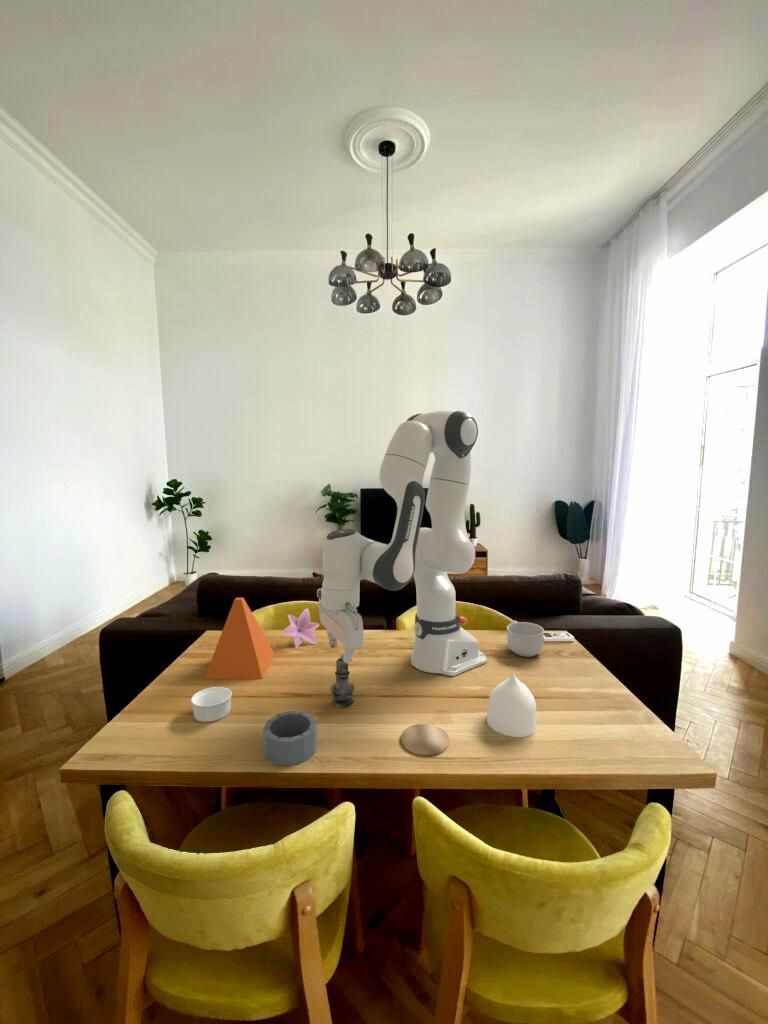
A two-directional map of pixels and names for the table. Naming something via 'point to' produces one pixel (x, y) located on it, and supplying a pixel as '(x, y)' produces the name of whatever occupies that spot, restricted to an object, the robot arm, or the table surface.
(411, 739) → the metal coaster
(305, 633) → the lily
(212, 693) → the ramekin
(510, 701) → the teardrop
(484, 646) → the table surface
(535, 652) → the teacup
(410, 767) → the table surface
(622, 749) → the table surface
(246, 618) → the pyramid
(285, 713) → the grey faceted cup
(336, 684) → the grey chess piece
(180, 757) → the table surface
